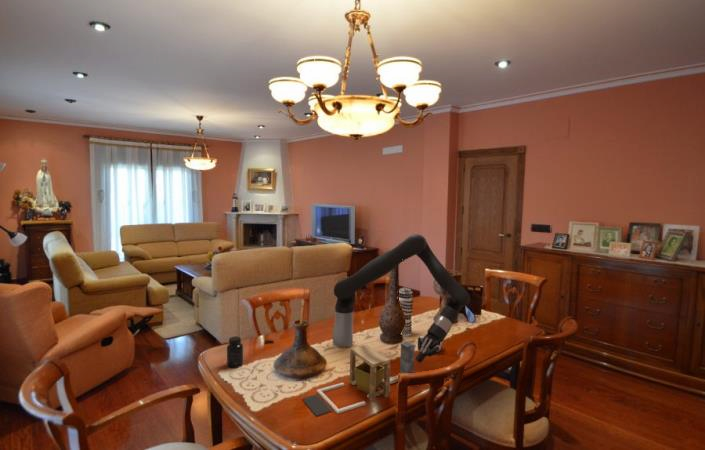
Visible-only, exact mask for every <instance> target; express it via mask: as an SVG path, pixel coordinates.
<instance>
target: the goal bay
mask: <svg viewBox="0 0 705 450" xmlns="http://www.w3.org/2000/svg"><path fill="white" fill-rule="evenodd" d="M344 386H345V383H344V382H339V383H337V384H332V385H329V386H326V387H322V388H318V389H316V393H317V395H318V396H319V397H320V398H321V399H322V400H323V401H324V402H325V403H326V404H327V405H328V407H329V406H330V407H329V408H330V409H331V410H332V411H334V412H335V413H336V414H337V415H338V414H342V413H344V412H347V411H350V410H353V409H357V408H361V407H363V406H365V405H366V401H364V400H362V401H359V402H356V403H354V404H351V405H347V406H344V407H341V408H338V406H337V405H336V404H334V402H333V401H331V399H330V398H329V397H328V396H327V395H326V394H325V393H324V392H327V391H330V390H335V389H338V388H341V387H344Z"/></svg>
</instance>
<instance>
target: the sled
mask: <svg viewBox="0 0 705 450" xmlns="http://www.w3.org/2000/svg"><path fill="white" fill-rule="evenodd" d="M415 346H416V345H415V343H412V342H410V341H405V342H401V343H400V359H399V360H400V364H399V374H400V373H414V372H415V354H416V353H415V352H416V351H415V349H416V347H415ZM399 374H397V375H395V376H390V385H391V384H394V383H398V382H397V379H398V375H399ZM414 374H415V373H414ZM352 386H357V383H356V380H355V381H352ZM379 387H381V388H382V389H380V390H376V394H375V397H376V396H380V395H383V388H384V378H383V379H382V382H381V384H380V386H379ZM389 393H391V387H390V388H389ZM366 394H367V395H366V396H367V397H366V398H368V399H369V393H366Z"/></svg>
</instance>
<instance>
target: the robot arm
mask: <svg viewBox="0 0 705 450" xmlns="http://www.w3.org/2000/svg"><path fill="white" fill-rule="evenodd" d="M414 256H416V257H418V258H419V259H420V260H421V261H422V262H423V264H424V265H425V266H426V268H427V269H428V271H429V273H430V274H431V275H432V277H433V279H434V280H435V281H436V282H435V283H437V284H438V285H439V287H440V288H441V289H442V290H443V291H444V292H447V293H448V294H449V295H450V297H449V299H448V300H447V302H446V304H445V306H444V308H442V311H440V313H439V314H438V315H437V317H436V318H435V319H434V321H433V322H432V324H431V325H430V326H429V328H428V329H427V332H426V334H424V335H425V336H424V338H420V337H421V336H419V337H418V338H417V350H418V351H419V352H418V353H417V355H416V356H415V361H416V362H417V363H419V364H421V363H422V362H423V361H424V359H425V358H426V357H430V358H431V357H432V356H435V355H437V354H439V353H441V351H442V349H440V348H439V345H440V342H442V341H443V342H444V340H445V338H446V337H447V336H448V334H449V332H450V331H451V330H452V327H453V325H454V324H455V322H456V320H457V319H458V317H459V313H460V312H461V310H462V309H463V308H464V307H466V306H468V305H469V304H470V303H471V296H470V294H469V292H468V291H467V290H466V289H465V287H463V286H462V285H461V284H460V283H458V281H457V280H455V278H454V277H453V275H451V273H450V272H449V271H448V270H447V269H446V267H445V266H444V265H443V264H442V263H441V262H440V260H439V259H438V258H437V256H436V255H435V254H434V252H433V251H432V249H431V247H430V246H429V244H428V241H427V240H426V238H425V236H423V235H421V234H417V233H415V234H411V235H409V236H408V237H407V238H406V239H405V240H403V241H402V242H401V243H399V244H398V245H397V246H395V247H394V248H392V249H390V250H388V251H386V252H383V253H382V254H380V255H378V256H377V257H375V258H374V259H372V260H370V261H369V262H367V263H366V264H365V265H364V266H363V267H361V268H360V269H359V270H357V272H355V273H354V274H352V275H351V276H348V277H343V278H341V279H340V280H338V281H337V282H336V283H335V285H334V287H333V295H334V296H335V297H336V303H335V305H334V306H335V307H334V324H333V325H332V344H333V345H334V346H336V347H338V348H349V347H351V346H353V337H354V307H355V303H356V292H357V291H359V290H360V289H362V288H363V287H366V286H367V285H370V284H371V283H374V282H375V281H377V280H379V279H381V278H382V277H384V276H386V275H387V274H389V273H390V272H391V271H393V270H394V269H395V268H396V267H398V266H399V265H400V264H401V263H402V262H404V261H405V260H407V259H409V258H411V257H414ZM402 259H403V260H402ZM443 342H442V343H443ZM426 351H427V352H426Z"/></svg>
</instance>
